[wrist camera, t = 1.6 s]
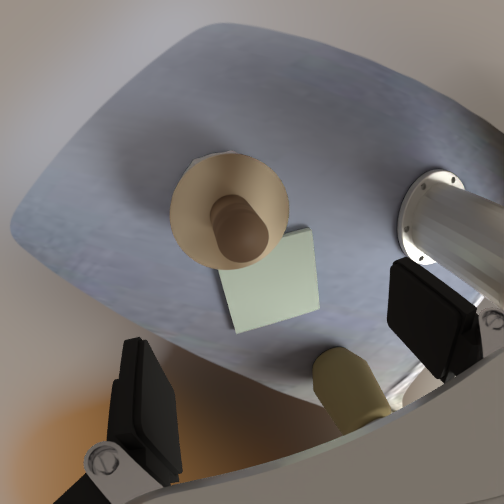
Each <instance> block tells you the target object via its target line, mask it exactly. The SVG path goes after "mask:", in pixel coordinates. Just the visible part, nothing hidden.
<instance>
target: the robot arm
mask: <svg viewBox="0 0 504 504" xmlns="http://www.w3.org/2000/svg"><path fill="white" fill-rule="evenodd" d="M397 232H398V240H399V243H400V247H401V248H402V250H403V252H404V254H405V255H406V256H407V257H404V258H401V259H398V260H396V261H394V262H393V266H391V268H390V283H389V299H388V311H387V323H388V326H389V327H390V328H391V330H392V331H393V332H394V333H395V334H396V335H397V336H398V337H399V338H400V339H401V340H402V341H403V342H404V344H405V345H406V346H407V347H408V348H409V349H410V350H411V351H412V352H413V353H414V355H415V356H416V357H417V358H418V359H419V360H420V361H421V362H422V363H423V365H424V366H425V367H426V368H427V369H428V370H429V371H430V372H431V373H432V375H433V376H434V377H435V378H436V379H440V380H441V381H442V382H443V383H444V384H443V385H442V386H440V387H438V388H437V389H435V390H433V391H432V392H430V393H428V394H427V395H425V396H423V397H421V398H420V399H418V400H416V401H415V402H413V403H411V404H409V405H407V406H405V407H403V408H401V409H399V410H398V411H396V412H394V413H392V414H390V415H388V416H386V417H384V418H382V419H380V420H378V421H375V422H373V423H371V424H369V425H367V426H365V427H363V428H360V429H358V430H356V431H354V432H351V433H349V434H347V435H344V436H342V437H339V438H337V439H335V440H332V441H329V442H327V443H324V444H322V445H319V446H316V447H314V448H311V449H308V450H305V451H303V452H300V453H297V454H294V455H291V456H288V457H284V458H281V459H278V460H275V461H271V462H268V463H265V464H261V465H257V466H254V467H250V468H246V469H243V470H238V471H235V472H231V473H226V474H222V475H218V476H213V477H208V478H204V479H199V480H194V481H190V482H185V483H180V484H176V485H172V486H171V484H170V483H174V482H179V477H178V474H180V473H182V471H183V470H182V461H181V453H180V446H179V445H180V444H179V434H178V424H177V413H176V401H175V394H174V390H173V388H172V386H171V384H170V382H169V381H168V379H167V377H166V375H165V373H164V372H163V370H162V368H161V366H160V364H159V362H158V360H157V359H156V357H155V355H154V353H153V351H152V349H151V347H150V345H149V343H148V341H147V340H142V339H141V338H140V337H137V338H132V339H128V340H125V341H124V344H123V351H122V358H121V365H120V373H119V379H116V380H114V381H113V385H112V393H111V400H110V409H109V419H108V429H107V441H103V442H100V443H97V444H95V445H94V446H92V447H91V448H90V449H89V450H88V451H87V453H86V455H85V457H84V469H85V471H86V473H85V474H84V475H83V476H82V477H81V478H80V479H79V480H78V481H77V482H76V483H75V484H74V485H73V486H71V487H70V488H69V489H68V490H67V491H66V492H65V493H64V494H63V495H62V496H61V497H60V498H58V500H56V501H55V502H54V503H53V504H504V206H502V205H500V204H497V203H495V202H493V201H490V200H488V199H485V198H483V197H481V196H478V195H476V194H473V193H471V192H468V191H465V189H464V186H463V184H462V182H461V181H460V179H459V178H458V177H457V176H456V175H455V174H453V173H451V172H449V171H446V170H441V169H435V170H431V171H428V172H426V173H424V174H423V175H422V176H420V177H419V178H418V179H417V180H416V181H415V182H414V183H413V184H412V186H411V187H410V189H409V190H408V192H407V194H406V196H405V198H404V200H403V202H402V205H401V208H400V212H399V217H398V227H397ZM435 262H437V263H438V264H440V265H441V266H443V267H444V268H445V269H447V270H448V271H450V272H451V273H453V274H454V275H455V276H457V277H458V278H460V279H461V280H462V281H464V282H465V283H467V284H468V285H469V286H471V287H472V288H473V289H475V290H476V291H477V292H479V293H480V294H481V295H483V296H484V297H485V298H487V299H488V300H489V301H491V302H492V303H493V304H495V305H496V306H497V307H498V308H500V309H498V308H493V307H492V308H486V309H484V310H482V311H481V312H480V314H479V315H478V314H477V313H476V310H477V308H476V307H475V306H474V305H473V304H471V303H470V302H469V301H468V300H466V299H465V298H464V297H462V296H461V295H460V294H458V293H457V292H456V291H454V290H453V289H452V288H451V287H449V286H448V285H447V284H445V283H444V282H442V281H441V280H440V279H438V278H437V277H436V276H434V275H433V274H432V273H430V272H429V271H427V270H426V269H425V268H423V267H422V266H420V265H419V264H423V265H427V264H432V263H435ZM455 376H456V377H455Z"/></svg>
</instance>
